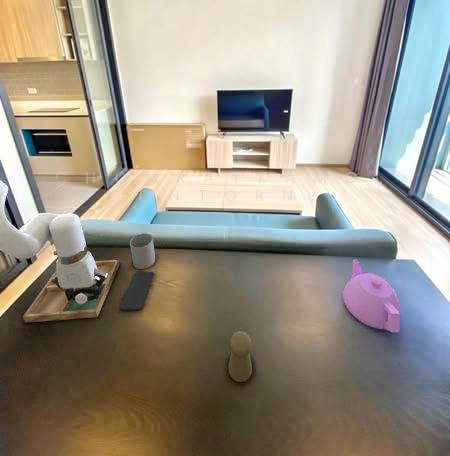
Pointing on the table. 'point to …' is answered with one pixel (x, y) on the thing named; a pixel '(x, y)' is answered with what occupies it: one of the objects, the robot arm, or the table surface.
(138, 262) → the cup
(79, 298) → the watch
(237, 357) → the olive pawn figure
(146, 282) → the phone
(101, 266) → the tray
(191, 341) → the table surface
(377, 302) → the teapot
